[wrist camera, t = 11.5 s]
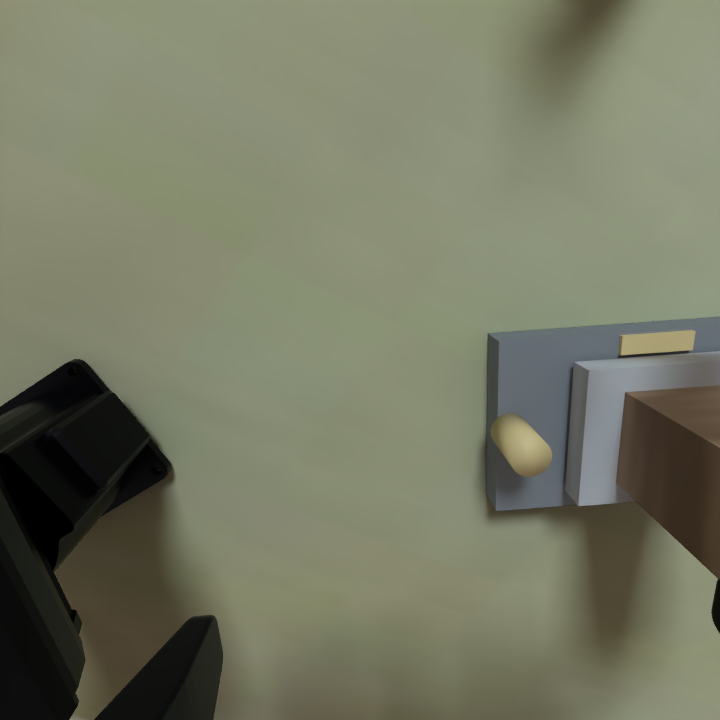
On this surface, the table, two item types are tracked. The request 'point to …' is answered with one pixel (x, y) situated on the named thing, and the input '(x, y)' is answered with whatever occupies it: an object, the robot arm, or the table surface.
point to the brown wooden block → (651, 442)
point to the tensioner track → (558, 398)
